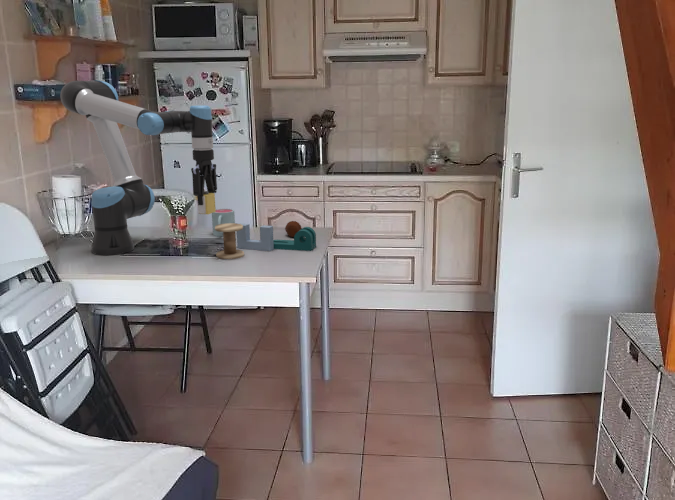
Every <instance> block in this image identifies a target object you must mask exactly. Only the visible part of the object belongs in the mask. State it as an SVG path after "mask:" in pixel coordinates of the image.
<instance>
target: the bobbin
mask: <svg viewBox="0 0 675 500" xmlns="http://www.w3.org/2000/svg"><path fill="white" fill-rule="evenodd" d="M241 224H242V223H236V222H235V223H226V224H219V225H216V226H215V230H216V231H219V232H223V237H222V239H223V250H219V251H217V252H216V254H215V255H216V256H215V257H216V258H218V259H220V260H235V259H240V258H243V257H244V256H245V251H244V250H242V249H237V235H236V232H237V231H240V230H242V229H243V225H241Z"/></svg>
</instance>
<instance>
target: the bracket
mask: <svg viewBox="0 0 675 500" xmlns="http://www.w3.org/2000/svg"><path fill="white" fill-rule="evenodd" d="M301 228H302V229H301V230H300V231H298V232H297V233H296V234H295V236H294V237H293V239H291V240H290V239H273V241H274V249H273V250H285V251H287V250H288V251H304V252H305V251H306V252H313V251H314V249H315V248H316V247H317V234H316V232H315V230H314V229H313V228H312V227H310V226H304V227H301Z"/></svg>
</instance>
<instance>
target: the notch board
mask: <svg viewBox="0 0 675 500" xmlns="http://www.w3.org/2000/svg"><path fill="white" fill-rule="evenodd" d="M240 224H241V225H243V229H242V230H240V231H236V249H241V250H242V249H243V250H244V249H245V250H255V251H265V252H266V251H267V252H271V251H273V250H275V249H274V241H273V240H274V225H265V224H264V225H261V226H259V238H260V240H258V239H251V231H250V230H251V229H250V223H249V224H248V223H240Z"/></svg>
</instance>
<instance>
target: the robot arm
mask: <svg viewBox="0 0 675 500" xmlns="http://www.w3.org/2000/svg"><path fill="white" fill-rule="evenodd" d="M60 102H61V103H62V106H63V107H64V108H65V109H66V110H68V111H69V112H72V113H75V114H77V115H81V116H85V118H86V120H87V121H88V122H90V123H92V125H93V128H94V131H95V133H96V136H97V139H98V141H99V144H100V146H101V149H102V152H103V155H104V157H105V159H106V163H107V165H108V168H109V172H110V173H111V176H112V179H113V181H114V183H113V186H108V187H101V188H99V189H96V190H94V191H93V192H92V194H91V202H90V203H91V205H90V206H91V208H92V217H93V225H94V234H93V238H92V244H91V253H92V254H95V255H99V256H113V255H120V254H121V255H122V254H125V253H126V254H127V253H129V252H132V251H133V250H134V249H135V245H134V244H135V243H134V241H133V240H132V236H131V235H130V232H129V229H128V219H133V218H134V217H135V218H136V217H141V216H143V215H146V214H148V213H149V212H151V210H152V209H153V207H154V205H155V200H156V199H155V194H154V191H153V189H152V187H150V186H149V185H147V184H145V183H144V181H143V179H142V177H140V176H138V175H137V173H136V170H135V168H134V166H133V163H132V159H131V156H130V155H129V152H128V148H127V146H126V144H125V140H124V138H123V136H122V132H121V130H120V127H119V125H118V124H120V125H124V126H127V127H129V128H132V129H137V130H139V131H140V132H141V134H143V135H146V136H158V135H163V134H164V135H165V134H171V133H174V134H175V133H190V134H191V148H192V149H193V150H192V160H193V161H195V167H191V169H190V170H191V171H190V172H191V175H192V192H193V193H192V194H193V196H194V197H197V210H198V214H199V213H200V215H207V214H206V205H205V196H203V195H204V191H205V187H206V191H208V193H215V194H216V193H217V190H218V184H217V182H218V181H217V164H215V163H212V161H213V160H214V159H215V154H214V152H215V151H214V150H213V148H214V139H213V116H212V108H211V107H210V106H209V105H190V107H189V110H187V111H186V110H165V111H153V110H150V109H147V108H145V107H140V106H137V105H134V104H130V103H127V102H124V101H120V100H119V94H118V92H117V90H116V89H115V88H114V86H113V85H112V84H111V83H108V82H107V81H102V80H97V79H96V80H95V79H94V80H73V81H69V82H67V83H66V84H64V86H62V88H61V90H60Z"/></svg>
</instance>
